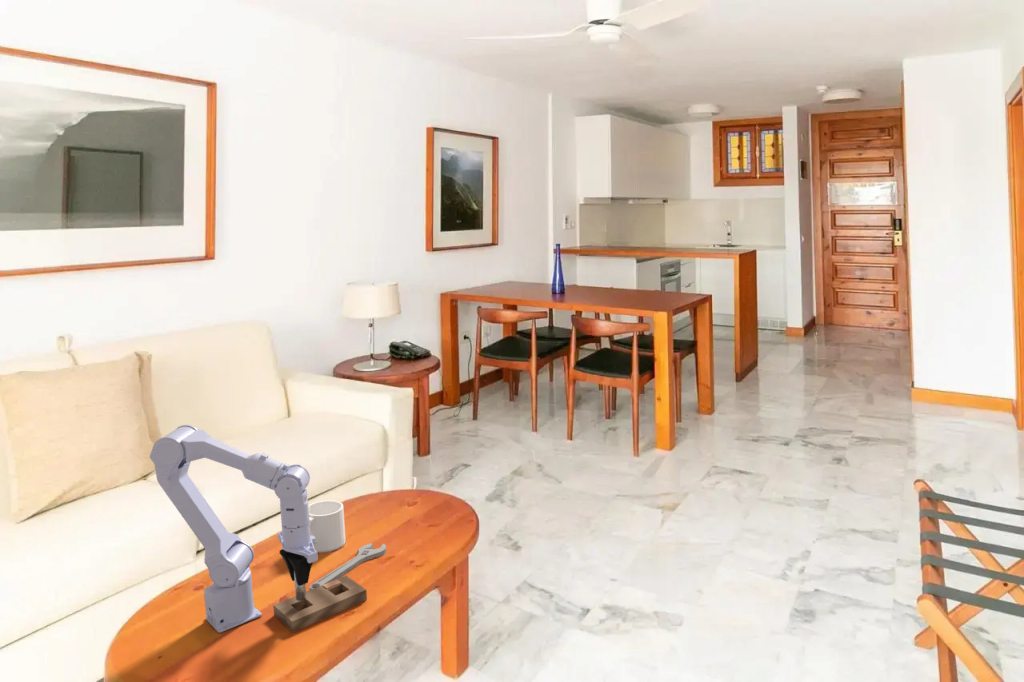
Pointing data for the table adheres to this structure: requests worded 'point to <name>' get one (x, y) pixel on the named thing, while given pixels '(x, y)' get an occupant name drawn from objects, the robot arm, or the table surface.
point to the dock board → (320, 603)
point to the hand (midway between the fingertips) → (299, 581)
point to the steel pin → (300, 591)
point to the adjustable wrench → (351, 564)
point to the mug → (327, 525)
